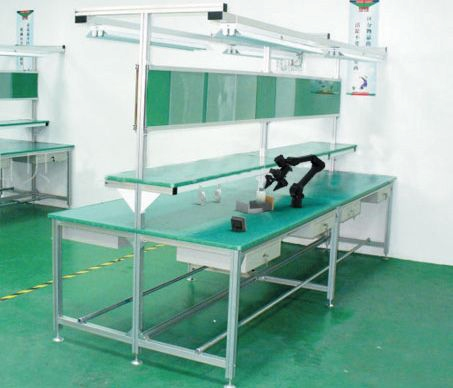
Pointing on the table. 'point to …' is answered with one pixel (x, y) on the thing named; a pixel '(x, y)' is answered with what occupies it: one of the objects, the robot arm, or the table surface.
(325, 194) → the table surface
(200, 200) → the headset
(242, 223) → the electrical switch
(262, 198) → the bottle
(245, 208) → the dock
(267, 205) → the grey and tan box
